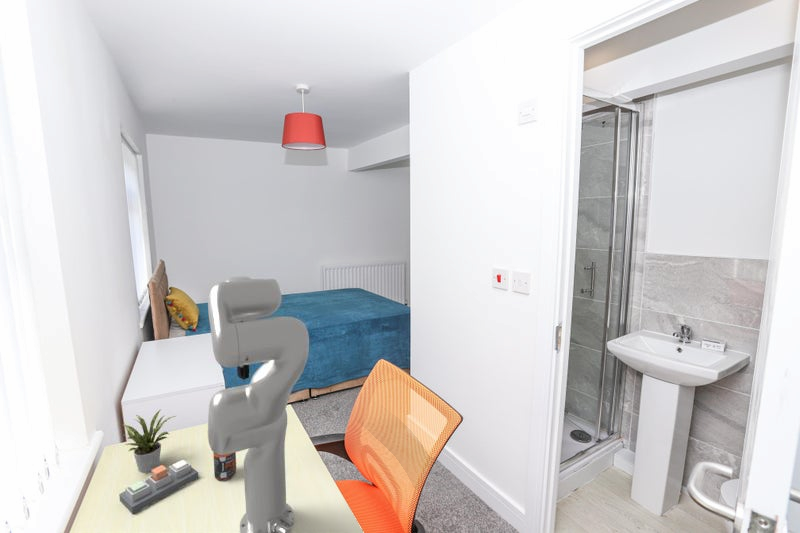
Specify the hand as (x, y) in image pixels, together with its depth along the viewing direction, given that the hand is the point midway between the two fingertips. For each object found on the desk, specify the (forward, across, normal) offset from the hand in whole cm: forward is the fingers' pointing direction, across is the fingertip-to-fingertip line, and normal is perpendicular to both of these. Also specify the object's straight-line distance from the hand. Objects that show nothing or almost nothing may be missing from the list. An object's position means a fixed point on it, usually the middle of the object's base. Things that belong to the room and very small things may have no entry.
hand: (243, 377), depth 120 cm
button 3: (+25, -17, +8) cm, 31 cm away
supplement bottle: (+27, -8, -1) cm, 28 cm away
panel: (+27, -22, +8) cm, 36 cm away
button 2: (+24, -22, +8) cm, 33 cm away
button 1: (+25, -27, +8) cm, 38 cm away
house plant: (+27, -18, +21) cm, 39 cm away
